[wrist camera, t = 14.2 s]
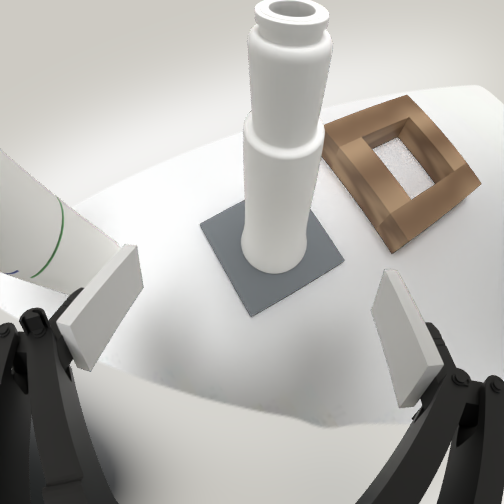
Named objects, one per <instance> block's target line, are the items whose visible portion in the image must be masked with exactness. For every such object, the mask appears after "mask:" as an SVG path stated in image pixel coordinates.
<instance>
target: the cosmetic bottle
mask: <svg viewBox="0 0 504 504" xmlns="http://www.w3.org/2000/svg"><path fill="white" fill-rule="evenodd" d="M255 21H256V23H257V24H255V25H254V26H253V28H252V29H251V30H250V32H249V35H248V40H247V43H248V60H249V73H250V74H249V75H250V91H251V107H252V110H251V111H250V112H249V114H248V115H247V117H246V119H245V121H244V127H243V161H244V191H245V225H244V230H243V233H242V237H241V247H242V251H243V254H244V256H245V258H246V259H247V261H248V262H249V263H250V264H251V265H252V266H253V267H255V268H256V269H258V270H260V271H262V272H265V273H270V274H278V273H283V272H286V271H289V270H291V269H292V268H294V267H295V266H296V265H297V264H298V263H299V262H300V261H301V260H302V258H303V256H304V254H305V251H306V247H307V238H306V229H307V222H308V217H309V212H310V207H311V203H312V199H313V194H314V190H315V185H316V181H317V176H318V171H319V166H320V161H321V155H322V149H323V143H324V136H325V129H324V124H323V122H322V120H321V118H320V117H319V115H320V111H321V106H322V101H323V97H324V91H325V87H326V82H327V77H328V72H329V67H330V62H331V57H332V51H333V41H332V38H331V36H330V34H329V33H328V32H327V30H326V28H327V27H328V21H329V12H328V11H327V10H326V8H324V7H323V6H322V5H320V4H318V3H315V2H313V1H310V0H263V1H261V2H260V3H258V4H257V5H256V6H255Z"/></svg>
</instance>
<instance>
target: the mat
mask: <svg viewBox="0 0 504 504" xmlns="http://www.w3.org/2000/svg"><path fill="white" fill-rule="evenodd" d="M244 225H245V200H243V201H242V202H240V203H238V204H236V205H234V206H232V207H230V208H228V209H226V210H225V211H223V212H221V213H219V214H217V215H215V216H213V217H212V218H210V219H208V220H206V221H204V222H203V223H201V224H200V226H201V228H202V230H203V232H204V234H205V235H206V237H207V239H208V241H209V243H210V245H211V246H212V248H213V250H214V252H215V254H216V255H217V257H218V259H219V261H220V263H221V265H222V266H223V268H224V270H225V272H226V274H227V275H228V277H229V279H230V281H231V282H232V284H233V286H234V288H235V290H236V291H237V293H238V295H239V297H240V298H241V300H242V302H243V304H244V305H245V307H246V309H247V311H248V312H249V314H250V316H251V317H252V316H254V315H255V314H257V313H259V312H261V311H262V310H264V309H266V308H268V307H269V306H271V305H273V304H275V303H276V302H278V301H280V300H281V299H283V298H285V297H287V296H288V295H290V294H292V293H293V292H295V291H297V290H298V289H300V288H302V287H303V286H305V285H307V284H308V283H310V282H312V281H313V280H315V279H317V278H318V277H320V276H321V275H323V274H325V273H326V272H328V271H330V270H331V269H333V268H334V267H336V266H338V265H339V264H341V263H342V262H344V261H345V260H344V259H343V257H342V256H341V254H340V253H339V251H338V249H337V248H336V246H335V245H334V243H333V242H332V240H331V239H330V237H329V236H328V234H327V233H326V231H325V230H324V228H323V227H322V225H321V224H320V222H319V221H318V219H317V218H316V217H315V215H314V214H313V212H312V211H311V209H310V212H309V217H308V222H307V229H306V238H307V247H306V251H305V254H304V256H303V258H302V260H301V261H300V262H299V263H298V264H297V265H296V266H295V267H294V268H292V269H291V270H289V271H286V272H283V273H278V274H270V273H265V272H262V271H260V270H258V269H256V268H255V267H253V266H252V265H251V264H250V263H249V262H248V261H247V259H246V258H245V256H244V254H243V251H242V247H241V237H242V233H243V230H244Z"/></svg>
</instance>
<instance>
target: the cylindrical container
mask: <svg viewBox="0 0 504 504" xmlns="http://www.w3.org/2000/svg"><path fill="white" fill-rule="evenodd" d="M120 249H121V248H120V246H119V245H118V244H117V242H116V241H115V240H113V239H112V238H110V237H109V236H108V235H106V234H105V233H104V232H102V231H101V230H100V229H98V228H97V227H96V226H94V225H93V224H92V223H90V222H89V221H88V220H86V219H85V218H84V217H82V216H81V215H80V214H78V213H77V212H76V211H75V210H73V209H72V208H71V207H69V206H68V205H67V204H66V203H64V202H63V201H62V200H61V199H59V198H58V197H57V196H56V195H54V194H53V193H52V192H51V191H49V190H48V189H47V188H46V187H44V186H43V185H42V184H41V183H40V182H38V181H37V180H36V179H35V178H34V177H32V176H31V175H30V174H29V173H28V172H26V171H25V170H24V169H23V168H22V167H21V166H19V165H18V164H17V163H16V162H15V161H14V160H13V159H11V158H10V157H9V156H8V155H7V154H6V153H5V152H3V151H2V150H1V149H0V272H2V273H4V274H7V275H10V276H12V277H15V278H18V279H21V280H24V281H27V282H30V283H33V284H36V285H39V286H42V287H45V288H48V289H52V290H55V291H58V292H61V293H65V294H68V295H71V294H72V293H73V292H74V291H76V290H78V289H79V288H81V287H82V288H85V287H86V286H87V285H88V284H89V282H90V281H91V280H92V279H93V278H94V277H95V276H96V275H97V274H98V272H99V271H100V270H101V269H102V268H103V267H104V266H105V265H106V264H107V263H108V262H109V261H110V260H111V258H112V257H113V256H114V255H115V254H116V253H117V252H118V251H119V250H120Z"/></svg>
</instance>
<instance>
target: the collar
mask: <svg viewBox="0 0 504 504" xmlns="http://www.w3.org/2000/svg"><path fill="white" fill-rule="evenodd" d="M324 129H325V136H324V143H323V149H322V155H321V156H322V157H323V159H324V160H325V161H326V162H327V164H328V165H329V166H330V167H331V169H332V170H333V171H334V173H335V174H336V175H337V176H338V178H339V179H340V180H341V182H342V183H343V184H344V186H345V187H346V188H347V190H348V191H349V192H350V194H351V195H352V196H353V198H354V199H355V201H356V202H357V203H358V205H359V206H360V207H361V209H362V210H363V212H364V213H365V215H366V216H367V217H368V219H369V220H370V222H371V223H372V225H373V226H374V228H375V229H376V231H377V232H378V234H379V235H380V237H381V238H382V240H383V241H384V243H385V244H386V246H387V247H388V249H389V250H390V252H391V253H394V252H395V251H397V250H398V249H399V248H401V247H402V246H404V245H405V244H406V243H408V242H409V241H410V240H412V239H413V238H414V237H416V236H417V235H418V234H420V233H421V232H422V231H424V230H425V229H426V228H428V227H429V226H430V225H432V224H433V223H434V222H436V221H437V220H438V219H439V218H441V217H442V216H443V215H445V214H446V213H447V212H448V211H450V210H451V209H452V208H453V207H455V206H456V205H457V204H458V203H460V202H461V201H462V200H463V199H464V198H466V197H467V196H468V195H469V194H470V193H472V192H473V191H474V190H475V189H476V188H477V187H479V186H480V185H481V182H480V181H479V179H478V178H477V176H476V175H475V173H474V172H473V171H472V169H471V168H470V167H469V165H468V164H467V162H466V161H465V160H464V158H463V157H462V156H461V155H460V153H459V152H458V151H457V149H456V148H455V147H454V146H453V145H452V143H451V142H450V141H449V140H448V138H447V137H446V136H445V135H444V134H443V133H442V131H441V130H440V129H439V128H438V127H437V126H436V125H435V123H434V122H433V121H432V120H431V119H430V118H429V117H428V116H427V115H426V114H425V112H424V111H423V110H422V109H421V108H420V107H419V106H418V105H417V104H416V103H415V102H414V101H413V100H412V99H411V98H410V97H409V96H408V95H405V96H401V97H398V98H395V99H392V100H389V101H387V102H384V103H381V104H378V105H375V106H372V107H369V108H367V109H364V110H361V111H359V112H356V113H353V114H351V115H348V116H345V117H343V118H340V119H338V120H335V121H333V122H330V123H328V124H325V125H324ZM397 137H398V138H399V139H400V140H401V141H402V142H403V143H404V145H405V146H406V147H407V148H408V149H409V151H410V152H411V153H412V154H413V155H414V157H415V158H416V159H417V160H418V162H419V163H420V164H421V165H422V167H423V168H424V169H425V171H426V172H427V173H428V175H429V176H430V177H431V179H432V180H433V181H434V183H435V185H433V186H432V187H430V188H429V189H427V190H426V191H424V192H423V193H421V194H420V195H418V196H417V197H415V198H413V199H412V200H411V199H410V197H409V196H408V195H407V193H406V192H405V191H404V189H403V188H402V187H401V185H400V184H399V183H398V181H397V180H396V179H395V177H394V176H393V175H392V173H391V172H390V171H389V170H388V168H387V167H386V166H385V165H384V163H383V162H382V161H381V160H380V158H379V157H378V156H377V155H376V154H375V152H374V151H373V150H372V149H373V148H375V147H377V146H379V145H382V144H384V143H386V142H388V141H390V140H392V139H394V138H397Z"/></svg>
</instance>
